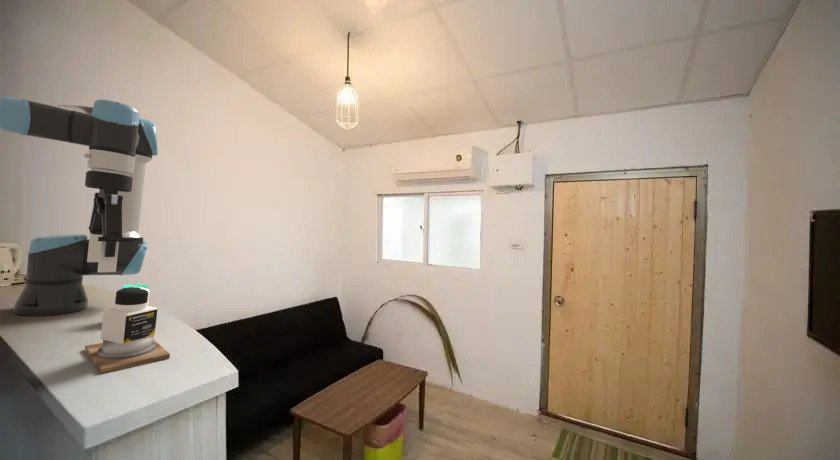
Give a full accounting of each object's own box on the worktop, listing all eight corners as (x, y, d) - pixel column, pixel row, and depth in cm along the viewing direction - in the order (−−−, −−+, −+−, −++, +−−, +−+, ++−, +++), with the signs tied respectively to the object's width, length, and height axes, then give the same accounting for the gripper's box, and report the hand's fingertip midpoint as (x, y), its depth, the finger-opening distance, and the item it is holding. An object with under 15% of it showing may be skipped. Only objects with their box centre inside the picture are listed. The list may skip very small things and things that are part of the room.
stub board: (84, 349, 76) (86, 333, 76) (148, 338, 86) (149, 324, 86) (100, 373, 67) (102, 355, 67) (169, 358, 77) (171, 341, 77)
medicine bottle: (123, 345, 72) (128, 293, 72) (99, 339, 74) (105, 288, 74) (155, 335, 79) (160, 288, 79) (133, 330, 81) (138, 283, 81)
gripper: (78, 170, 76) (69, 258, 76) (97, 167, 61) (85, 278, 61) (120, 176, 81) (112, 258, 82) (147, 175, 66) (136, 275, 67)
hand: (100, 266), depth 71 cm, fingers open, 13 cm apart
